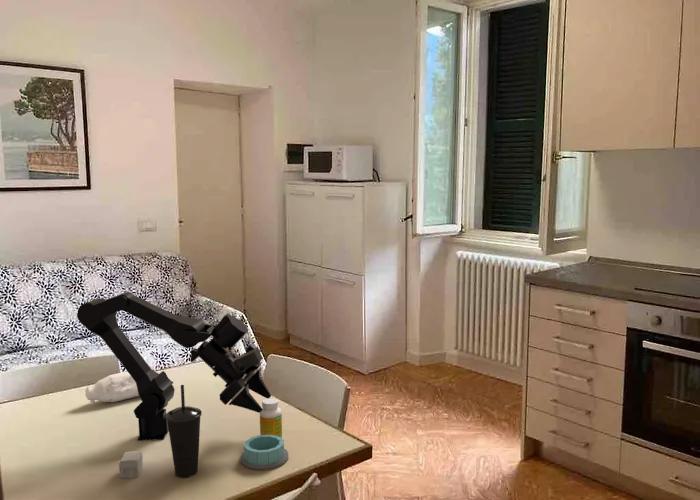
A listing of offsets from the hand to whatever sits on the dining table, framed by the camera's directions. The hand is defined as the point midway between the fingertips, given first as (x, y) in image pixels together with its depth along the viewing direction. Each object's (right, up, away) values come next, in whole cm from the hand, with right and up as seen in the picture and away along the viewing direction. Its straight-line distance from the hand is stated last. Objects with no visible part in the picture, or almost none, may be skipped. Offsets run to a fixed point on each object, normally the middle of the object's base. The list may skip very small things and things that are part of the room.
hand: (265, 404), depth 150 cm
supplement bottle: (+1, -9, +1) cm, 9 cm away
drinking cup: (-15, -11, -16) cm, 25 cm away
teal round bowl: (+1, -10, -10) cm, 14 cm away
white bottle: (-46, -6, +29) cm, 55 cm away
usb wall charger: (-27, -12, -17) cm, 34 cm away
